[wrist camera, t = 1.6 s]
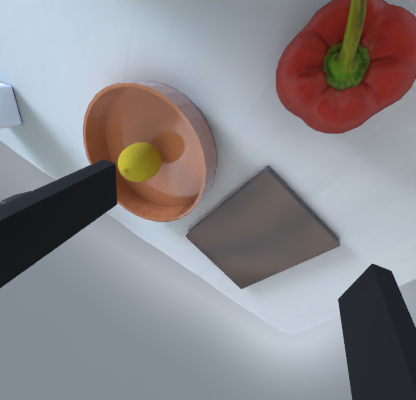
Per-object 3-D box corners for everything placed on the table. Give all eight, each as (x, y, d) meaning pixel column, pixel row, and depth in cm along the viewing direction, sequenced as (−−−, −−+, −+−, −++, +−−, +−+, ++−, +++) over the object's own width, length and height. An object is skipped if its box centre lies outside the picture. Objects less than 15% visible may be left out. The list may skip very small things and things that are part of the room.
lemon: (164, 175, 38) (134, 197, 31) (137, 157, 38) (103, 175, 31) (175, 149, 34) (145, 167, 28) (146, 129, 35) (110, 143, 28)
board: (188, 231, 42) (185, 236, 41) (268, 165, 31) (266, 169, 29) (242, 283, 44) (241, 289, 43) (339, 239, 32) (340, 245, 31)
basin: (89, 150, 42) (69, 158, 38) (136, 43, 29) (112, 40, 26) (170, 226, 44) (158, 241, 40) (246, 157, 31) (238, 168, 28)
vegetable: (283, 16, 23) (271, -13, 15) (410, -12, 19) (488, -73, 11) (279, 126, 28) (269, 149, 20) (379, 121, 24) (416, 147, 16)
